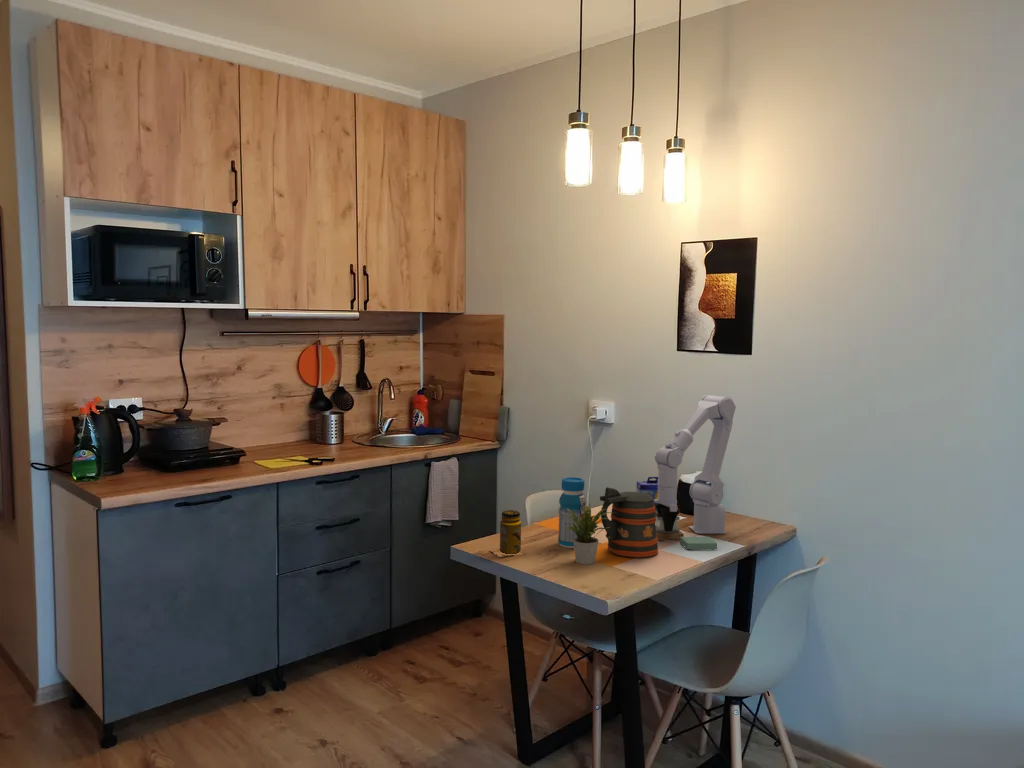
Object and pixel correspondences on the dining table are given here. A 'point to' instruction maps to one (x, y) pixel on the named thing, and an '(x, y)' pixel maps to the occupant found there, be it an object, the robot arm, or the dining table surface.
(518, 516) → the condiment
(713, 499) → the robot arm
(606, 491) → the beer stein
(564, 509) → the beverage bottle
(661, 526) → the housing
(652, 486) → the ink cartridge box
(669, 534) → the stand
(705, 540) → the stand
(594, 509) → the dining table surface
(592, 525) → the house plant
